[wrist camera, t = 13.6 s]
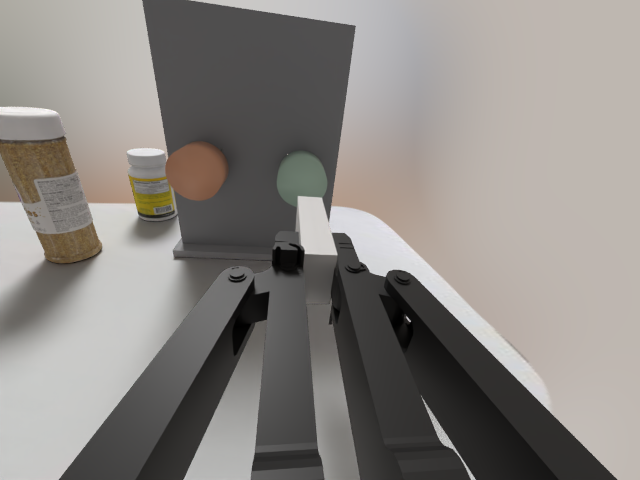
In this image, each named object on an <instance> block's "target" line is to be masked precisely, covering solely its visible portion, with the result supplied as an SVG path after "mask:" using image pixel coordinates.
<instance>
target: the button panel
mask: <svg viewBox="0 0 640 480" xmlns="http://www.w3.org/2000/svg"><path fill="white" fill-rule="evenodd" d="M142 1H143V7H144V13H145V19H146V25H147V31H148V37H149V43H150V49H151V55H152V61H153V68H154V74H155V80H156V85H157V92H158V98H159V103H160V109H161V116H162V121H163V128H164V134H165V140H166V146H167V152H168V158H169V156H170V155H171V154H172V153H174V152H175V151H177V150H179V149H180V148H182V147H184V146H185V145H187V144H189V143H191V142H195V141H203V142H207V143H210V144H212V145H214V146H215V147H217V148H223V154H224V156H225V158H226V160H227V162H228V167H229V172H228V176H227V178H226V180H225V182H224V183H223V185H222V186H221V187H220V189H219V190H218V192H217V193H216V194H215V195H214V196H213V197H211V198H209V199H207V200H202V201H196V200H190V199H187V198H185V197H183V196H181V195H180V194H178V193H177V192H176V191H175V190H174V194H175V200H176V206H177V212H178V218H179V224H180V230H181V236H182V238H181V239H180V241H179V242H178V244H177V245H176V246H175V248H174V249H173V255H174V257H196V258H221V259H245V260H270V261H272V249H273V247H274V246H275V236H276V235H277V234H278V232H279V231H291V232H295V230H296V215H297V207H295V206H292V205H290V204H288V203H287V202H286V201H284V200H283V198H282V197H281V196H280V194H279V192H278V189H277V176H278V170H279V166H280V163H281V162H282V160H283V159H284V158H285V157H286V156H287V154H290V153H292V152H294V151H308V152H310V153H312V154H314V155H315V156H317V157H318V158H319V160H320V161H321V163H322V165H323V168H324V171H325V174H326V177H327V190H326V192H325V194H324V196H323V198H322V200H323V204H324V207H325V211H326V215H327V218H328V222H329V218H330V210H331V203H332V196H333V188H334V181H335V173H336V166H337V158H338V151H339V143H340V137H341V129H342V122H343V114H344V107H345V100H346V93H347V85H348V78H349V70H350V63H351V55H352V48H353V41H354V34H355V27H356V26H353V25H347V24H340V23H334V22H327V21H320V20H314V19H307V18H300V17H294V16H288V15H281V14H275V13H268V12H262V11H255V10H249V9H242V8H235V7H229V6H222V5H216V4H209V3H203V2H196V1H189V0H142Z"/></svg>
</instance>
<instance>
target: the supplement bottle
mask: <svg viewBox="0 0 640 480" xmlns="http://www.w3.org/2000/svg"><path fill="white" fill-rule="evenodd" d="M127 157H128V162H129V164H130V165H131V167H130V168H129V169H128V176H129V179H130V183H131V187H132V191H133V195H134V199H135V203H136V207H137V211H138V215H139V217H140V218H141V219H143V220H147V221H164V220H168V219H171V218H173V217H174V216H176V215H177V213H178V212H177V206H176V200H175V194H174V189H173V188H172V187H171V185H170V184H169V182H168V180H167V178H166V174H165V164H166V156H165V152H164V151H163V150H159V149H153V148H139V149H132V150H129V151H127Z"/></svg>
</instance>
